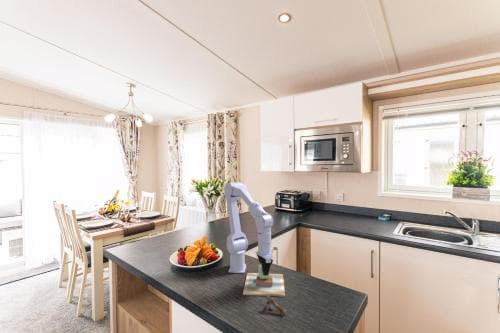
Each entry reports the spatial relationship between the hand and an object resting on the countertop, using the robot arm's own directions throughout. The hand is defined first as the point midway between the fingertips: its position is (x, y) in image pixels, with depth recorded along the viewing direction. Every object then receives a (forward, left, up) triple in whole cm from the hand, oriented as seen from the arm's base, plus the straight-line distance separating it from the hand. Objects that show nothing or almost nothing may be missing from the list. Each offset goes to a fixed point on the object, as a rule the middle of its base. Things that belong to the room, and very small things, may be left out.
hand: (264, 272), depth 106 cm
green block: (0, 0, -2) cm, 2 cm away
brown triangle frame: (+19, +4, -6) cm, 20 cm away
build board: (0, 0, -5) cm, 5 cm away
